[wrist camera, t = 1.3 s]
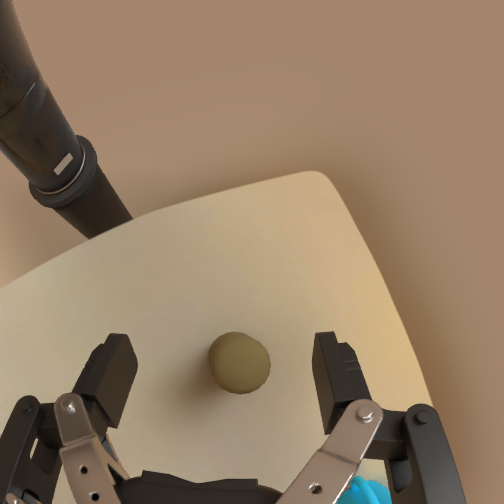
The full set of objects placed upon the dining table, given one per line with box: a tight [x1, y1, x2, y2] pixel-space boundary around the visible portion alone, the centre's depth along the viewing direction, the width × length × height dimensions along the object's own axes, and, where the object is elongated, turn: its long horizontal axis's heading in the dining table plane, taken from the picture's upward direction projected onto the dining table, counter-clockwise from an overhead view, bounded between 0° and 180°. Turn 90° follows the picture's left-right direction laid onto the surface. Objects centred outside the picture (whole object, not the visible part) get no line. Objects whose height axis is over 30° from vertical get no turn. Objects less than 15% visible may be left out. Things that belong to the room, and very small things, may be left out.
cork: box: [209, 332, 271, 394], centre depth 28 cm, size 6×6×11 cm
